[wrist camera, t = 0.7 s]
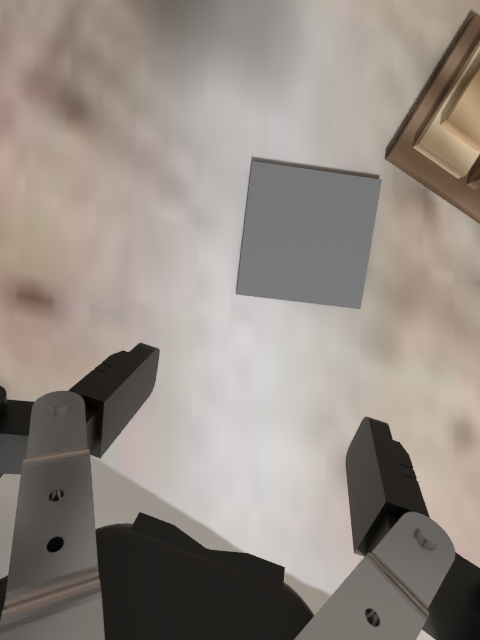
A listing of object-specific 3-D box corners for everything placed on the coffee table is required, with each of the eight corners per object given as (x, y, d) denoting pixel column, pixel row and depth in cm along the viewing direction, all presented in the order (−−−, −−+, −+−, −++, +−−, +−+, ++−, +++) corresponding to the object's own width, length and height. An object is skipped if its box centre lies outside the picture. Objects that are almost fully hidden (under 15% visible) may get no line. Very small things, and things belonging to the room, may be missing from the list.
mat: (251, 162, 36) (252, 161, 35) (379, 181, 36) (381, 179, 36) (236, 294, 37) (236, 294, 37) (358, 308, 38) (360, 309, 38)
